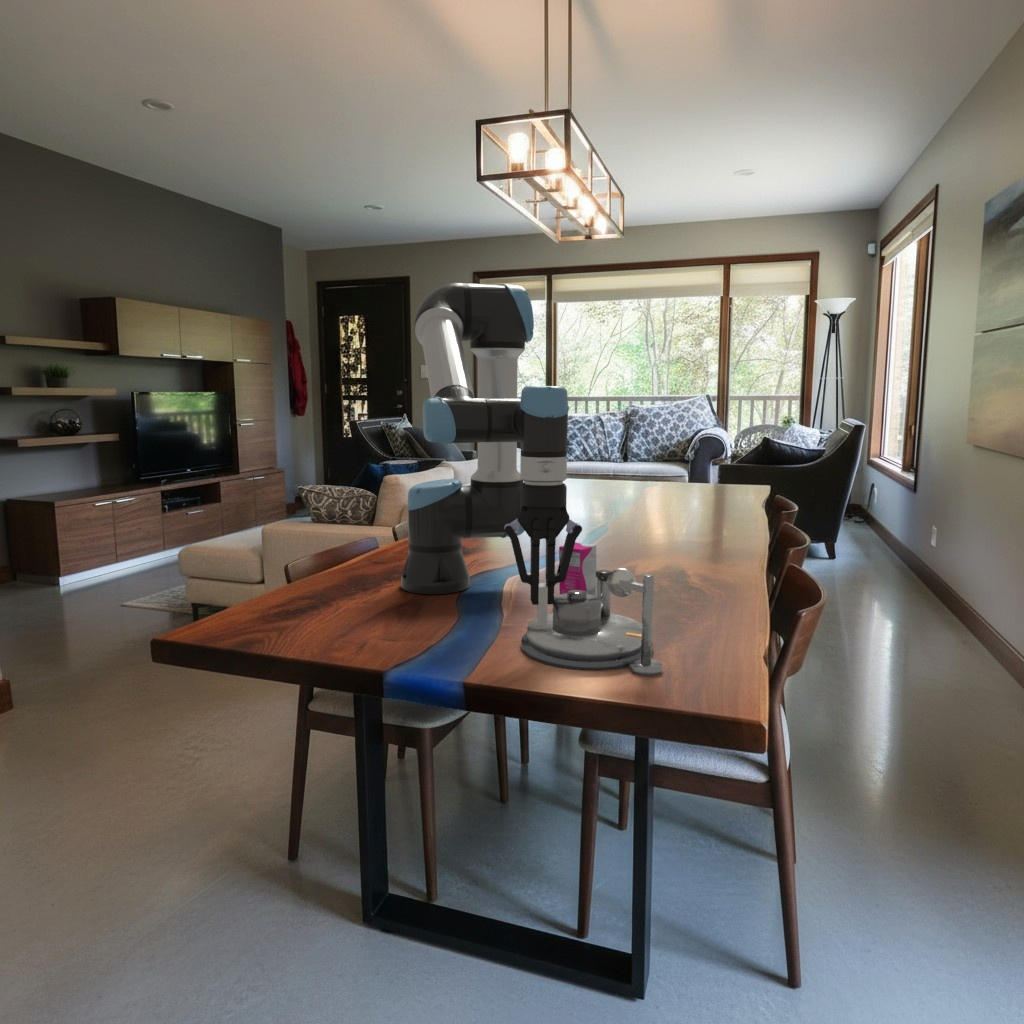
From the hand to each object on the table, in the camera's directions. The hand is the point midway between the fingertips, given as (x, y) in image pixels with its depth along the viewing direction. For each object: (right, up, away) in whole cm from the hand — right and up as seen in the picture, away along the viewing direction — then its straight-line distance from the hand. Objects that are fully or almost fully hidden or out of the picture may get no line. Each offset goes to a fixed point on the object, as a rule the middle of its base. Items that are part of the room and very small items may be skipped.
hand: (541, 622), depth 126 cm
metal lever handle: (+14, -6, -8) cm, 17 cm away
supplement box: (+9, 0, +31) cm, 32 cm away
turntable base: (+8, -4, +2) cm, 9 cm away
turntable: (+8, -3, +1) cm, 8 cm away
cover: (+6, -1, +1) cm, 6 cm away
